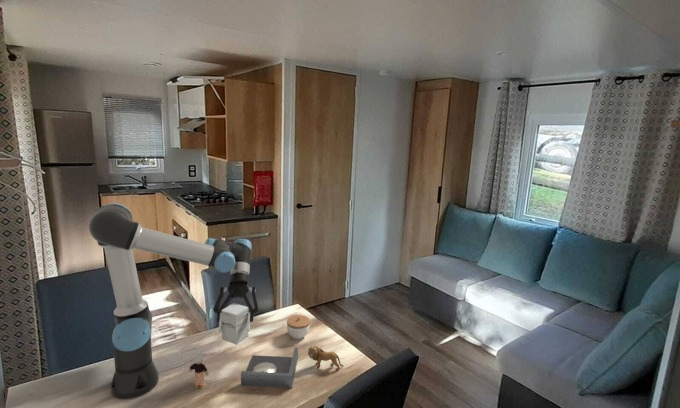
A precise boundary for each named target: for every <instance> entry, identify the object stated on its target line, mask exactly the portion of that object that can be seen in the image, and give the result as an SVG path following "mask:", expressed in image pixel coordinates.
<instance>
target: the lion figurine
mask: <svg viewBox="0 0 680 408" xmlns="http://www.w3.org/2000/svg"><path fill="white" fill-rule="evenodd" d="M307 355H308V357H309V358H310V359H312V360H313V361H316V362H315V365H316V369H320V367H321V362H322V361H323V362H327V361H331V363H330V366H335V367H336V368H335V370H336V371H340V367H344V365H343V364H342V363H341V361H340V360H341V359H340V357H339V355H338V354H337V352H335V351H324V350H323V349H322V348H320V347H318V346H316V345H311V346H310V347H308V350H307Z"/></svg>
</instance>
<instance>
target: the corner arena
mask: <svg viewBox="0 0 680 408" xmlns="http://www.w3.org/2000/svg"><path fill="white" fill-rule="evenodd" d="M298 360H299V347H294V349H293V354H292V357H291V356H276V355H275V356H274V355H256V354H253V355H252V357H251V359H250V361H249V364H248V366H247V368H246V370H241V372H240V386H241V387H259V388H260V387H262V388H280V389H281V388H282V389H283V388H284V389H285V388H286V389H292V388H293V384H294V380H295V374H296V369H297V365H298Z"/></svg>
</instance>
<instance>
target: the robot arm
mask: <svg viewBox="0 0 680 408" xmlns="http://www.w3.org/2000/svg"><path fill="white" fill-rule="evenodd" d="M88 225H89V226H88V230H89V234H90V235H91V237H92V238H93V239H94V240H96V241H97V242H96V243H97V245H98V246H99V247H100V248H103V249H104V254H105V258H106V264H107V266H108V267H107V268H108V271H109V276H110V280H111V285H112V289H113V294H114V295H113V296H114V298H115V303H116V308H115V309H114V310H113V316H114V322H115V327H114V329H113V331H112V336H111V342H112V345H113V347H112V349H113V358H114V359H113V360H114V373H113V377H112V380H111V383H110V393H111V395H112V396H113V397H114V398H117V399H120V400H130V399H136V398H138V397H141V396H143V395H145V394H147V393H149V392H150V391H152V390H153V389H155V387H156V386H157V385H158V383H159V378H160V377H159V371H158V370H157V367H156V366H155V363H154V361H153V353H152V349H153V348H152V323H153V322H152V321H153V315H152V312H151V310H150V308H149V303H148V301H147V300H145V299H143V295H142V291H141V285H140V280H139V275H138V269H137V266H136V262H135V261H136V260H135V257H134V249H135V250H139V251H143V252H144V251H145V252H147V253H153V254H156V255H161V256H166V257H168V258H174V259H178V260H181V261H186V262H191V263H194V264H198V265H199V264H200V265H203V266H207V267H211V268H215V270H217V271H218V272H219V273H223V274H224V273H225V274H226V273H229V272H230V276H229V284H228V286H227V287H223V286H222V287H220V290H219V295H218V297H217V300H216V301H215V303H214V306H213V309H212V312H213V313H215V314H217V316H216V322H217V323H218V329H217V330H218V332H219V333H222V310H223V309H225V308H226V307H228V306H229V305H230V304H229V303H231V302H232V300H233V299H237V298H239V299H242V298H243V300H244V302H245V304H246V307H248V321H247V331H248V332H250V327H251V323H253V321H254V314H255V313H259V311H260V310H259V306H258V301H257V295H256V291H257V289H256V287H255V286H252V287H250V286H249V279H250V276H249V275H250V271H251V270H250V269H251V258H252V247H253V245H252V242H251V241H250V240H249V239H246V238H237V239H235V240H234V241H233V242H231V241H226V240H221V239H218V238H212V237H211V238H210V237H209V238H206V240H205V241H204V243H203V242H199V241H196V240H192V239H188V238H185V237H182V236H177V235H175V234H174V235H173V234H169V233H165V232H161V231H159V230H155V229H151V228H147V227H144V226H142V225H141V223H140V222H137V221H134V220H133V214H132V212H131V210H130V209H129V208H128V207H126V206H125V205H123V204H120V203H115V202H114V203H113V202H112V203H107V204H105V205H102V206H101V207H99V208H98V209H97V210H96V211H95V213H94V214H93V216H92V217H91V219H90V221H89V224H88ZM227 292H228V295H227V297H226V298H225V300H224V302H223V303H222V301H223V299H224V296H225V294H226V293H227ZM248 292H249V293H250V294H251V295H252V296H251V297H252V302H253V305H254V308H253V307H252V304H251V302H250V301H249V299H248V296H247V293H248Z"/></svg>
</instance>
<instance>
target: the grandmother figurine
mask: <svg viewBox="0 0 680 408" xmlns="http://www.w3.org/2000/svg"><path fill="white" fill-rule="evenodd" d="M203 359H204V355H203V354H202V353H197V354H196V355H195V356H194V358H193V361H192V362H193V364H191V365H190V366H189V369H188V372H189V373H191V372H192V371H194V383H195V385H194V389H198V388H200V389H202V390H203V389H205V388H207V387H208V383H206V379H205V376H206V377H208V376H209V371H208V368H207V367H206V365H205V364H204V363H203V361H204V360H203Z"/></svg>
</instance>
